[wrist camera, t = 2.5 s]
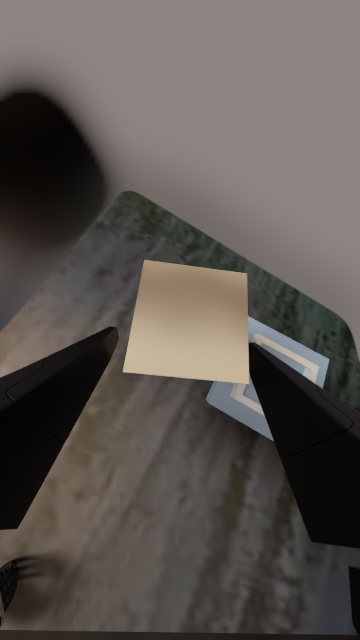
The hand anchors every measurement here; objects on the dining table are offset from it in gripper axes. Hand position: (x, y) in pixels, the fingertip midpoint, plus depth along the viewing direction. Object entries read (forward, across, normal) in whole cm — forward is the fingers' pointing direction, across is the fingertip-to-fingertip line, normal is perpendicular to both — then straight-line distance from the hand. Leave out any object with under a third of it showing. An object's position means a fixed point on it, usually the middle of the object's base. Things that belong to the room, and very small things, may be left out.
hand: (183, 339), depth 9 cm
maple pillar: (+6, 0, +6) cm, 9 cm away
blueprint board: (+4, -12, +8) cm, 15 cm away
